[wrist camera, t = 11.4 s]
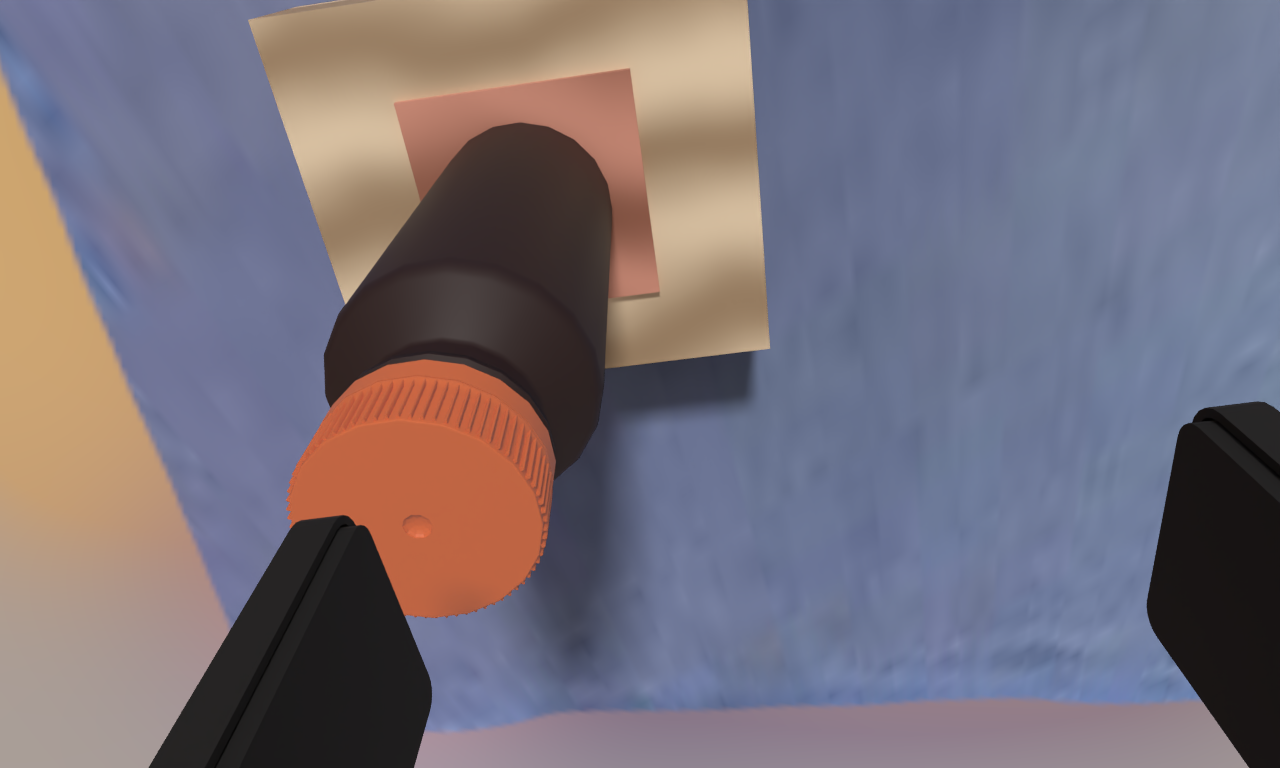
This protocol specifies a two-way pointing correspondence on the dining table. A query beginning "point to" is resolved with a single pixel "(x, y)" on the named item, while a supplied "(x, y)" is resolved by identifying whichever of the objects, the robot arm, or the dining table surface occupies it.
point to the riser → (563, 100)
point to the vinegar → (469, 372)
